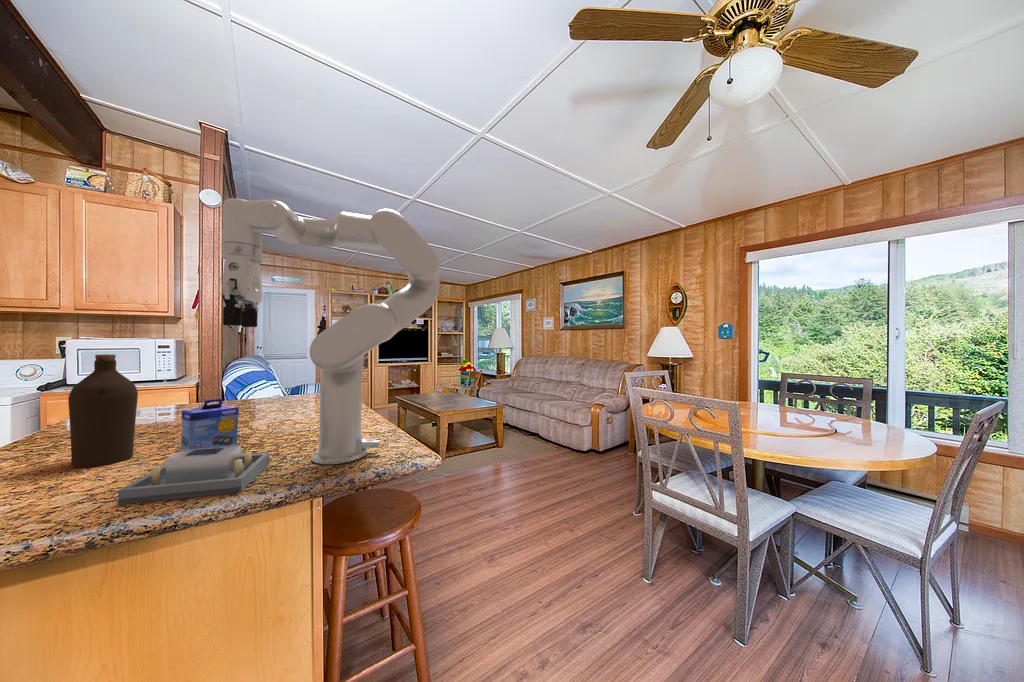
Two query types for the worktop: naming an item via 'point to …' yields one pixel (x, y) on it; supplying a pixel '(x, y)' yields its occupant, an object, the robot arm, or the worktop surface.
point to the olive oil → (102, 416)
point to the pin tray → (192, 483)
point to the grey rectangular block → (201, 464)
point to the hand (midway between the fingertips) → (241, 326)
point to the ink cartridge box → (209, 426)
